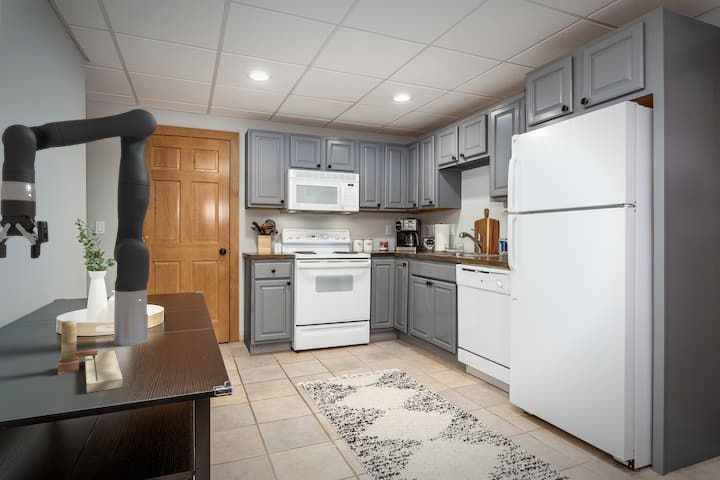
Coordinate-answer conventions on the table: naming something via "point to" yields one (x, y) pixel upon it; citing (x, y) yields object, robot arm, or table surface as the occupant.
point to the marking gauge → (71, 349)
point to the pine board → (102, 372)
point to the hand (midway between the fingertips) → (18, 258)
